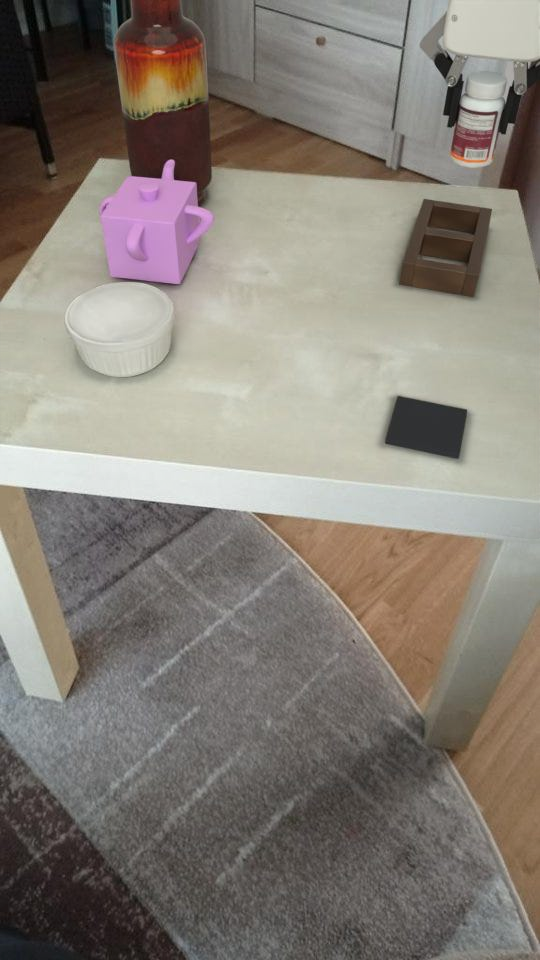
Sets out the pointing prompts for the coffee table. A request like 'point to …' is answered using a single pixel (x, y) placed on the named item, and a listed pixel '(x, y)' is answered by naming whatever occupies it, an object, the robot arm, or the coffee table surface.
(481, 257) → the holder
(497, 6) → the robot arm
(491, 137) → the pill bottle
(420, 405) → the mat
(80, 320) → the ramekin
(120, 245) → the teapot
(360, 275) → the coffee table surface
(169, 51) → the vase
